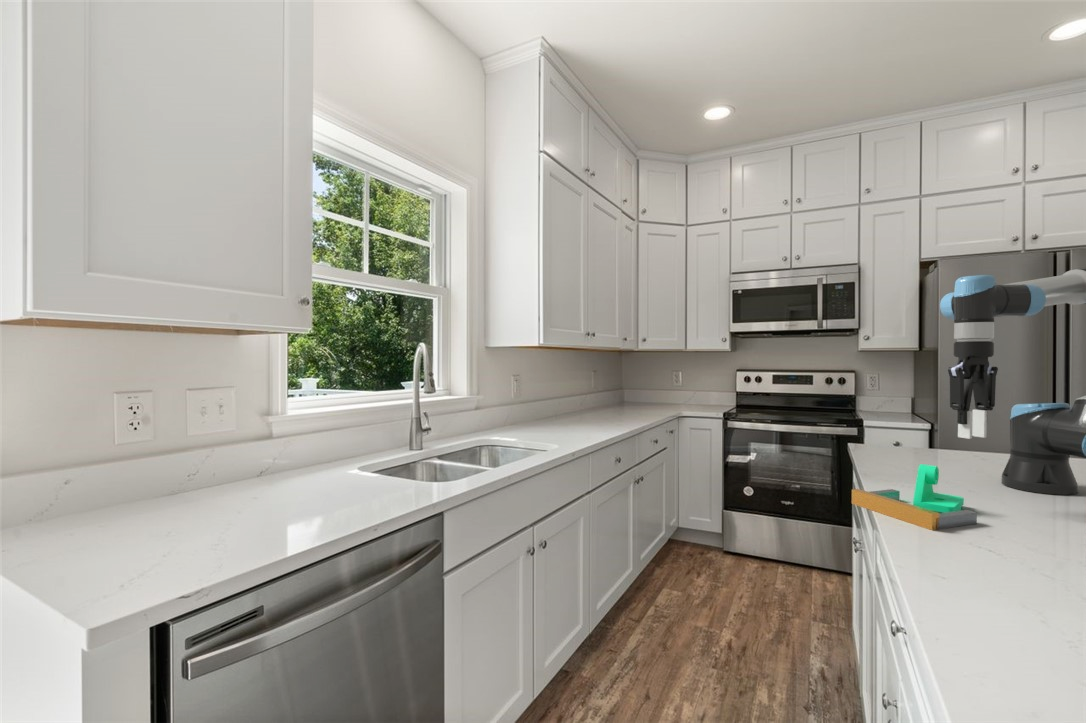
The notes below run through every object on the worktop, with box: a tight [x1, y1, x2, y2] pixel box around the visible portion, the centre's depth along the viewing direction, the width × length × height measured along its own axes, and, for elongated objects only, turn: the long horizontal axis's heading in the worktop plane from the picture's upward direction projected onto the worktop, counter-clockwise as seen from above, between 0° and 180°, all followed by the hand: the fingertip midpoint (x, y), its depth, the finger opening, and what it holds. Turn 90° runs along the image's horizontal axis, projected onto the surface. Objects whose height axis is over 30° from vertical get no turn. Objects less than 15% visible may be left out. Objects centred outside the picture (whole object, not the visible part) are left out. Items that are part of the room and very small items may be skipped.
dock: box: [851, 488, 978, 531], centre depth 123 cm, size 13×20×4 cm, turn 17°
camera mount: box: [912, 464, 965, 513], centre depth 126 cm, size 12×8×10 cm, turn 132°
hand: (972, 437), depth 128 cm, fingers open, 4 cm apart
